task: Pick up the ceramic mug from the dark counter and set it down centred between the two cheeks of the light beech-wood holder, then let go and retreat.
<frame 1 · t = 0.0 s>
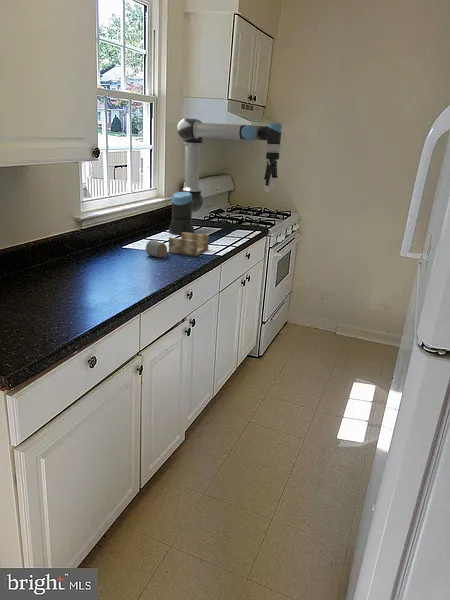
hand: (269, 190, 281), 28 cm above the table, fingers open, 13 cm apart
ceramic mug: (158, 256, 238), on the table
holder: (188, 250, 250), on the table
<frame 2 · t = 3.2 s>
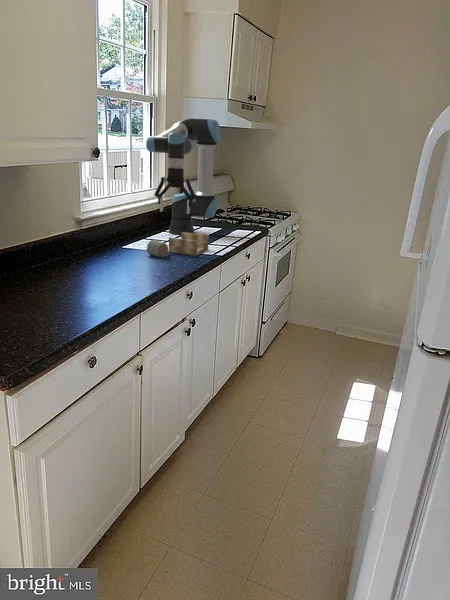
hand: (174, 212, 237), 20 cm above the table, fingers open, 13 cm apart
nothing on the table moved.
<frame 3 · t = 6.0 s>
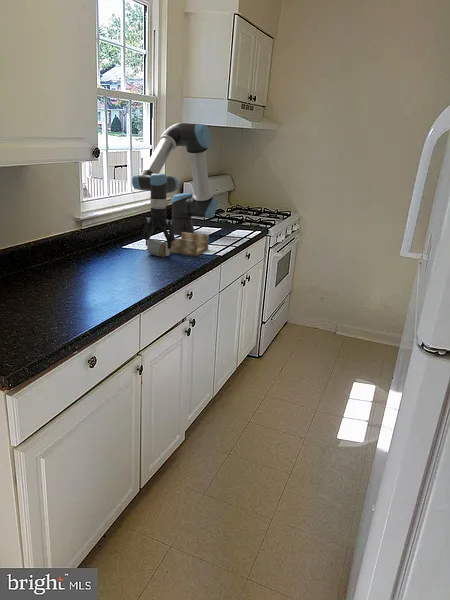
hand: (158, 253, 237), 1 cm above the table, fingers closed on ceramic mug, 9 cm apart
ceramic mug: (159, 255, 239), on the table, touching gripper
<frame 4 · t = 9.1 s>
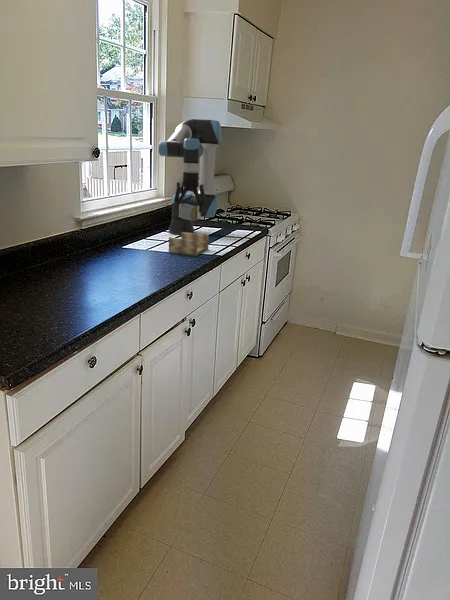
hand: (189, 217, 244), 17 cm above the table, fingers closed on ceramic mug, 9 cm apart
ceramic mug: (190, 219, 246), point 16 cm above the table, touching gripper
when the fingers open (4 cm above the table, at t = 11.9 s): ceramic mug drops 2 cm, resting on holder.
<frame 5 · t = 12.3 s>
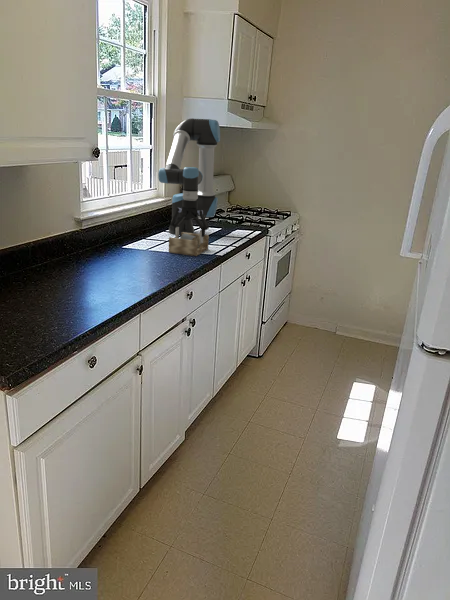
hand: (189, 241, 248), 5 cm above the table, fingers open, 13 cm apart
ceramic mug: (190, 249, 251), point 1 cm above the table, touching holder
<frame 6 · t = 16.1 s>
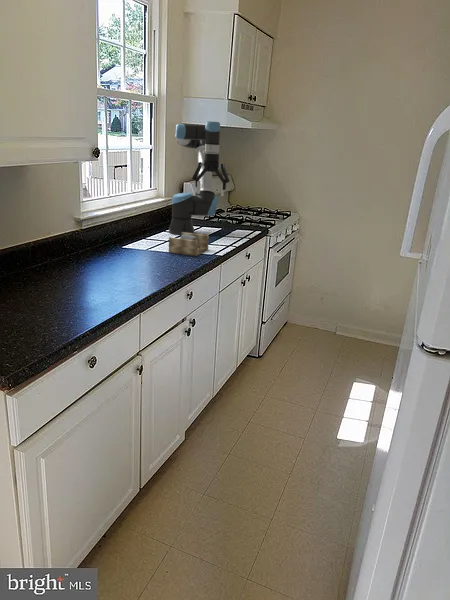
hand: (210, 194, 258), 27 cm above the table, fingers open, 13 cm apart
nothing on the table moved.
at the end: ceramic mug inside the target area on the holder (1.6 cm from its centre), point 0.6 cm above the holder's base; ceramic mug tilted 2°; ceramic mug touching holder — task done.
